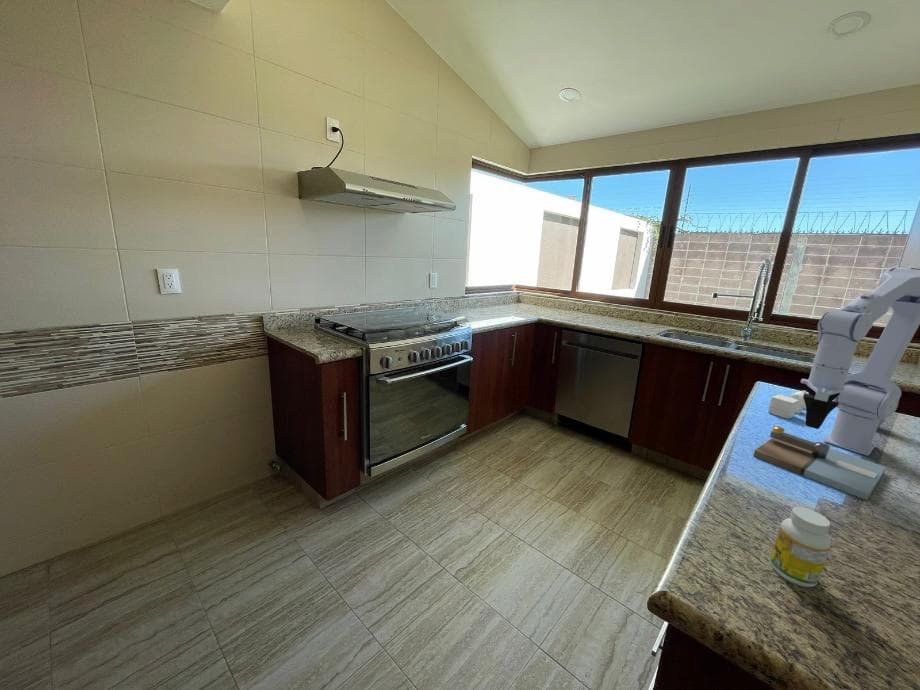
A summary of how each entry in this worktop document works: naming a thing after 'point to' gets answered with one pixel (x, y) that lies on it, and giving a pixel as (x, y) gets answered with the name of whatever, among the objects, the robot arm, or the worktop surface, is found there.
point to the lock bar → (801, 442)
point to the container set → (787, 404)
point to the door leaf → (846, 473)
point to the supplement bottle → (801, 547)
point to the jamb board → (785, 455)
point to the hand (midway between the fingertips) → (813, 422)
